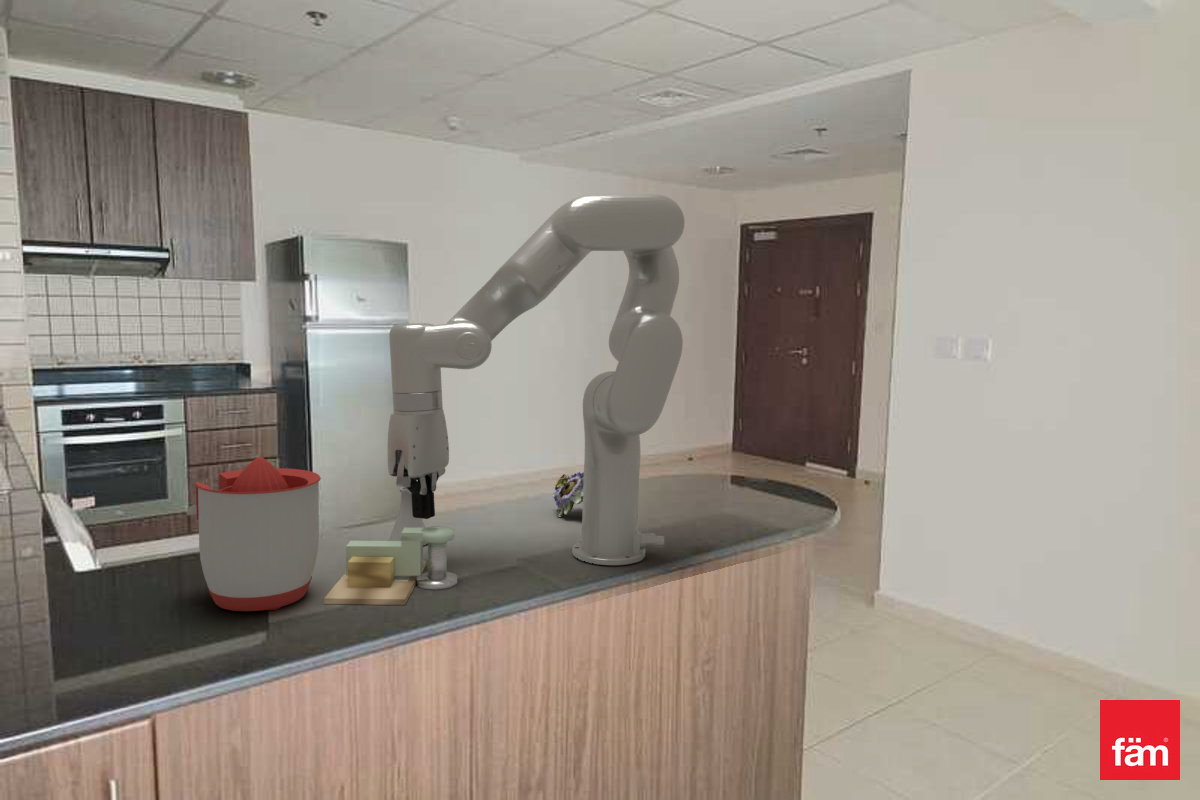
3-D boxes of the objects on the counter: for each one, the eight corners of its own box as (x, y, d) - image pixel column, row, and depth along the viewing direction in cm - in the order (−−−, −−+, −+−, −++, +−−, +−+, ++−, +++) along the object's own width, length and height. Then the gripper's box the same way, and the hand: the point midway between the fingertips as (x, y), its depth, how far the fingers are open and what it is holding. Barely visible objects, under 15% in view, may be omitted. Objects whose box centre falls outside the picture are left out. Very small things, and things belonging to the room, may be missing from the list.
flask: (418, 551, 129) (419, 493, 128) (379, 547, 130) (380, 490, 129) (436, 539, 136) (437, 485, 135) (399, 536, 138) (399, 482, 136)
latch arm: (454, 567, 116) (455, 526, 116) (451, 577, 112) (452, 534, 111) (352, 567, 115) (352, 525, 114) (344, 577, 110) (344, 534, 109)
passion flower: (561, 543, 155) (538, 490, 159) (604, 526, 161) (580, 476, 165) (582, 524, 146) (557, 469, 150) (627, 507, 152) (601, 455, 156)
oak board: (425, 565, 122) (426, 538, 121) (405, 604, 105) (405, 573, 104) (356, 564, 121) (356, 537, 121) (323, 604, 104) (323, 572, 104)
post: (459, 576, 117) (460, 534, 116) (454, 590, 111) (455, 546, 110) (420, 575, 117) (420, 534, 116) (413, 589, 111) (413, 545, 110)
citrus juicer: (223, 576, 113) (221, 444, 111) (337, 581, 113) (337, 449, 111) (159, 616, 98) (155, 464, 96) (292, 623, 97) (291, 470, 95)
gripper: (428, 396, 127) (434, 503, 129) (365, 407, 113) (372, 527, 115) (465, 397, 123) (470, 507, 126) (405, 409, 110) (412, 532, 112)
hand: (423, 516), depth 120 cm, fingers closed
